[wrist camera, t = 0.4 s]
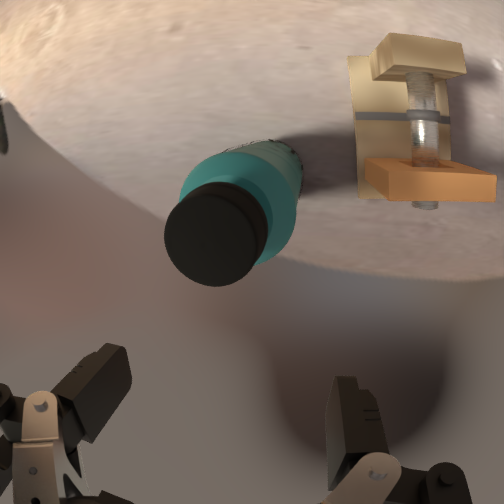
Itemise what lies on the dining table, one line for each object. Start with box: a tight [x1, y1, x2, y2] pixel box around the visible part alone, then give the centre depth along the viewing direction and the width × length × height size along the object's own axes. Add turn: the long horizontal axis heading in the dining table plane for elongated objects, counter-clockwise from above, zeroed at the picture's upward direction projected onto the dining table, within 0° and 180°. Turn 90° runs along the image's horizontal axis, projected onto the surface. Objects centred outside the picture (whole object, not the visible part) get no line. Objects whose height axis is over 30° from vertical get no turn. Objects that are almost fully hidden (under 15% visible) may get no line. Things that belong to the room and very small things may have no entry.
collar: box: [364, 158, 497, 202], centre depth 21 cm, size 2×9×9 cm, turn 96°
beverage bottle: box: [164, 139, 304, 287], centre depth 20 cm, size 6×7×20 cm
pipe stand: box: [347, 33, 467, 210], centre depth 21 cm, size 14×10×9 cm
